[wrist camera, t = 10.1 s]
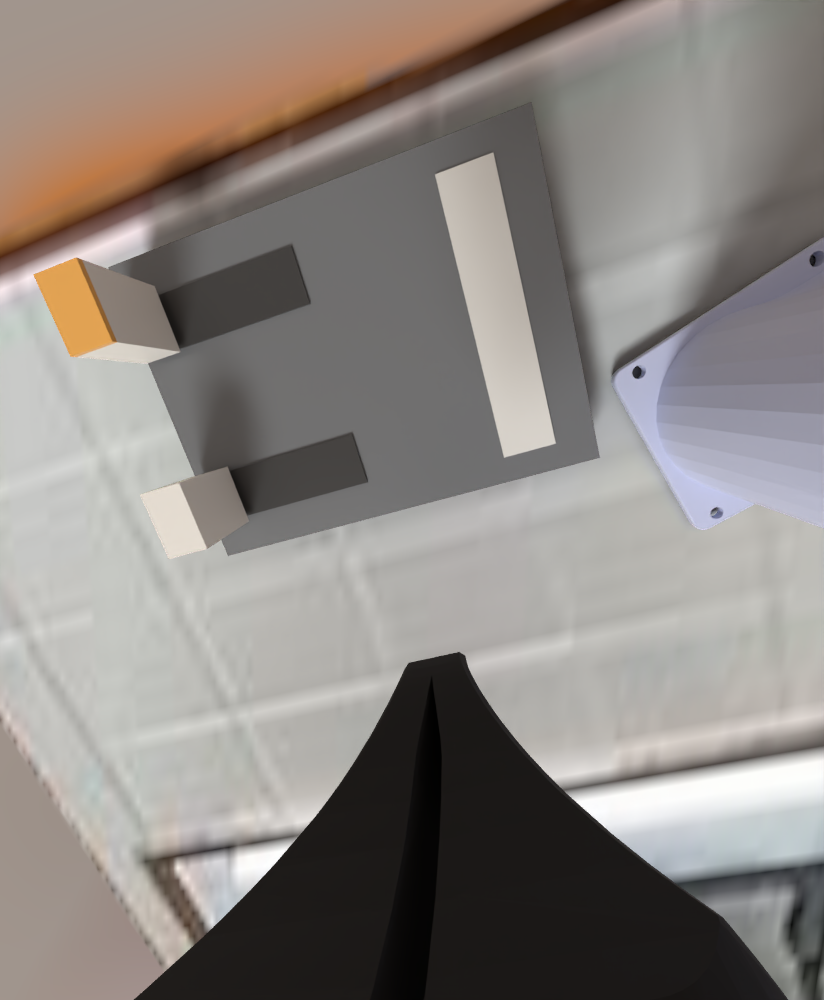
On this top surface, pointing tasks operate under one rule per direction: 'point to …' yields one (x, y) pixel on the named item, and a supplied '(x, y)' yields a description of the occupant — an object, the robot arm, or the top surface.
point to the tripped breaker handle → (106, 313)
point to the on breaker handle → (195, 512)
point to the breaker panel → (377, 337)
